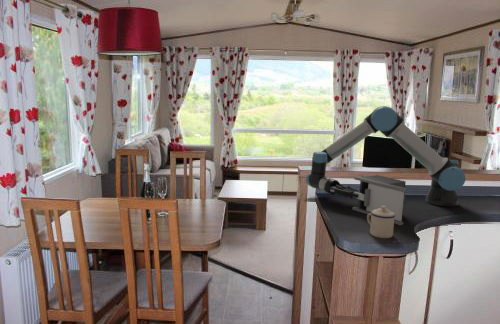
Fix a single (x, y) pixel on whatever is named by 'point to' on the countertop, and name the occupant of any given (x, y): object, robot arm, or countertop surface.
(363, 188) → the small gray cabinet
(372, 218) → the teacup with lid
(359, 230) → the countertop surface
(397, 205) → the side door
